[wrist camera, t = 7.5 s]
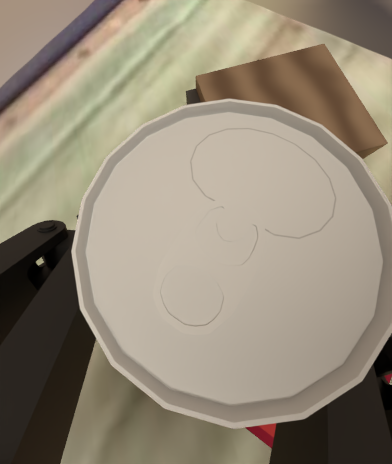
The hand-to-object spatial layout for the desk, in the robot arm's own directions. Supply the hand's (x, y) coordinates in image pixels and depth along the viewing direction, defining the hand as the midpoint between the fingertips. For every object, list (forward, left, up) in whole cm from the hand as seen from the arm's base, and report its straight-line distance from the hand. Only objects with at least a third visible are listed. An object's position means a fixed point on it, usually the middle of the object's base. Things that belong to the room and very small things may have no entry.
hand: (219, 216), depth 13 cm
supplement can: (+2, +3, -6) cm, 7 cm away
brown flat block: (-14, -13, -8) cm, 21 cm away
